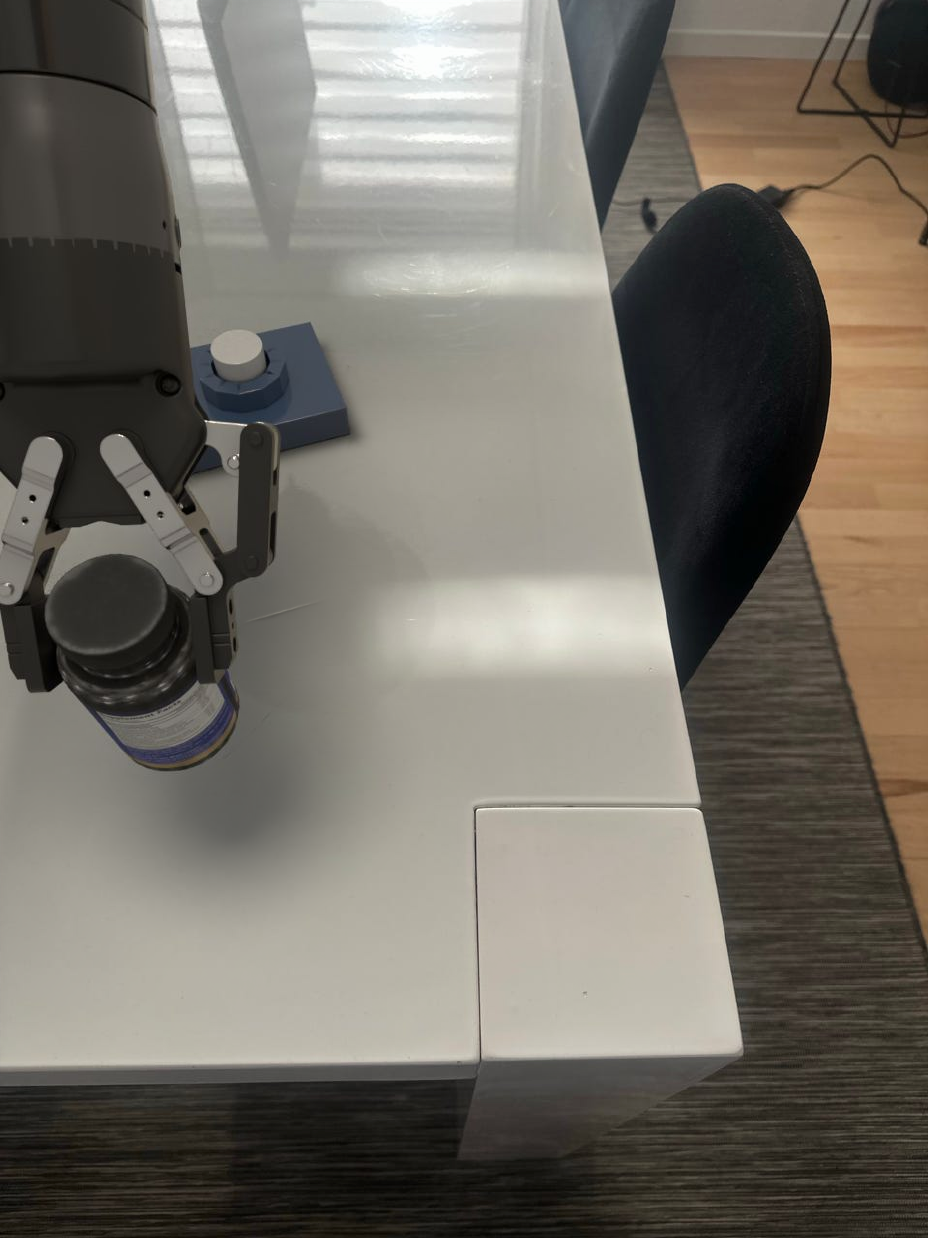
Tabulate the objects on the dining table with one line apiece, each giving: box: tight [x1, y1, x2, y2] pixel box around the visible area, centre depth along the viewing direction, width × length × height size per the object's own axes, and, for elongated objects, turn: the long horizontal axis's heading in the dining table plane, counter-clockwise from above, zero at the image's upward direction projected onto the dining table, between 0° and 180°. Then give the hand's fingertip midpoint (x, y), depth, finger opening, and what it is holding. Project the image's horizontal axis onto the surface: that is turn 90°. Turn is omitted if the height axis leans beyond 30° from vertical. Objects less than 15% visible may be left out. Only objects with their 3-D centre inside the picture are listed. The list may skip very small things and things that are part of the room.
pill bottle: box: [44, 553, 241, 772], centre depth 37 cm, size 6×6×11 cm
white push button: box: [210, 329, 267, 383], centre depth 66 cm, size 4×4×2 cm
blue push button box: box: [190, 321, 350, 474], centre depth 69 cm, size 14×11×5 cm
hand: (131, 681), depth 35 cm, fingers closed on pill bottle, 6 cm apart
